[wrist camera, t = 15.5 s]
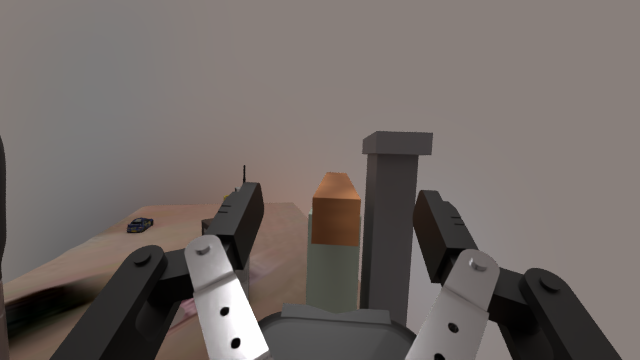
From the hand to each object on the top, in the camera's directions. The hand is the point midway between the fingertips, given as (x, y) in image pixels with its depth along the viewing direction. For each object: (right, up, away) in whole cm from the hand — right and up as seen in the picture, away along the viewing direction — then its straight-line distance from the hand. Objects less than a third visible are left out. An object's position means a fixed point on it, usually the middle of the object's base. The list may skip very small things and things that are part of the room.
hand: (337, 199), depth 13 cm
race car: (-68, -18, +83) cm, 109 cm away
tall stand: (+6, -26, +19) cm, 33 cm away
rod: (+1, -2, +15) cm, 15 cm away
